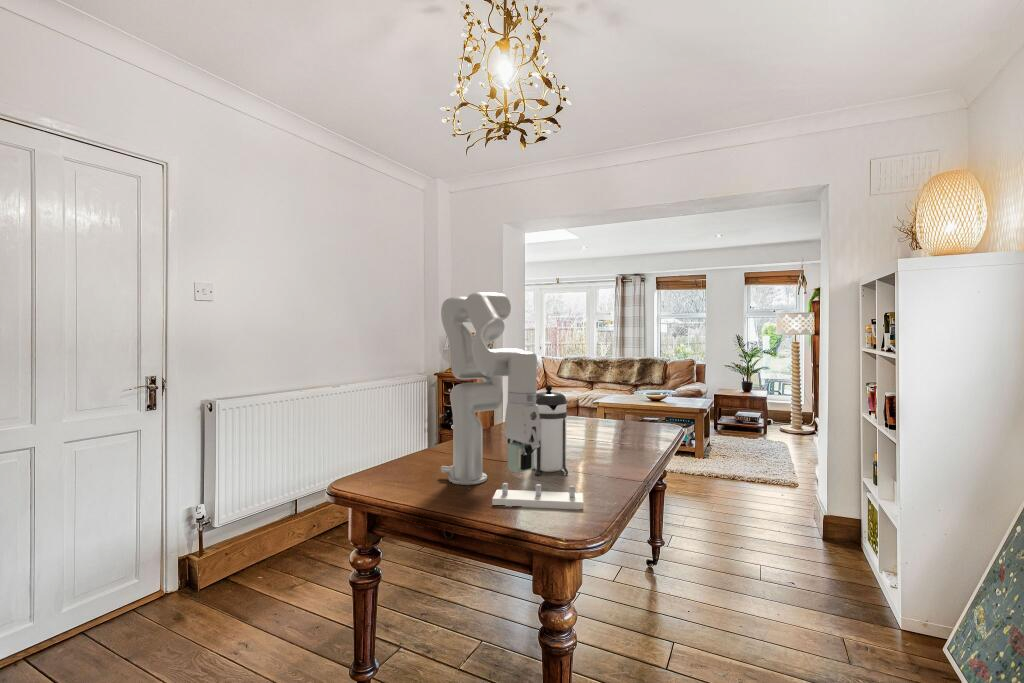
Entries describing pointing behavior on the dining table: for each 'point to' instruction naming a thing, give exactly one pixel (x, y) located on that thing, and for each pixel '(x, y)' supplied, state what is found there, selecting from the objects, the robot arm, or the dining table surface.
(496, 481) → the dining table surface
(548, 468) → the coffee press
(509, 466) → the tall sage green block
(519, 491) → the white peg board
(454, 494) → the dining table surface
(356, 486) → the dining table surface
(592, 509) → the dining table surface
